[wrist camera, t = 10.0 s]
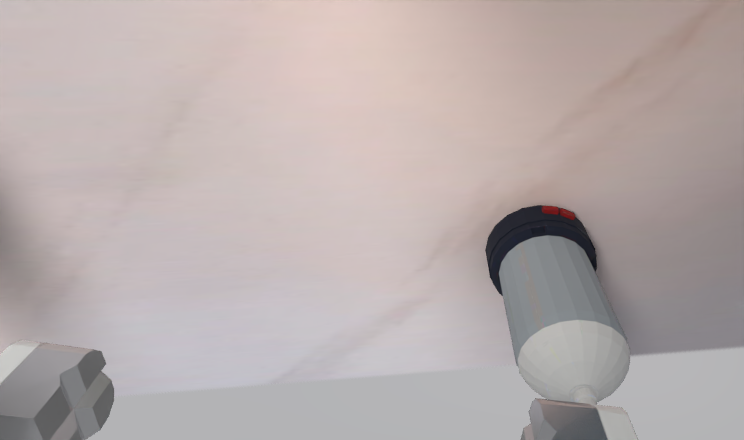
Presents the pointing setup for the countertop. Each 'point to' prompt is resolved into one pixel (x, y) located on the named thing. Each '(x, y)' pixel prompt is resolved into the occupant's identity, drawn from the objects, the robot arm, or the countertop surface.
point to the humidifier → (557, 306)
